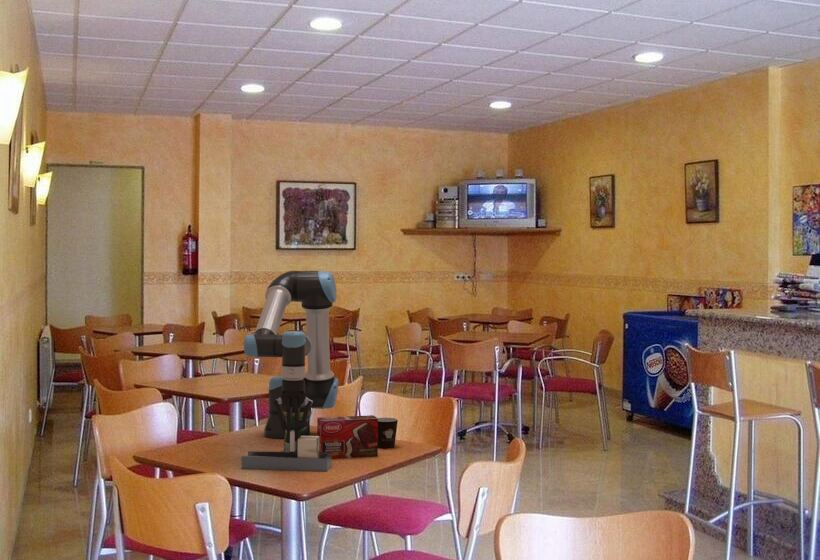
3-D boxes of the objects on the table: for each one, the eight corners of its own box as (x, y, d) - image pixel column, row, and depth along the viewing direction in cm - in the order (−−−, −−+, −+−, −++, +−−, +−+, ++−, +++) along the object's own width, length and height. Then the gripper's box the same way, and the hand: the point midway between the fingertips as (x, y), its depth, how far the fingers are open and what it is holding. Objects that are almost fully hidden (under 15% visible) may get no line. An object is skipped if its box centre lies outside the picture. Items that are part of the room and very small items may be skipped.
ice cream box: (320, 459, 311) (320, 420, 311) (317, 455, 317) (317, 417, 317) (377, 456, 317) (377, 418, 316) (372, 452, 323) (373, 415, 323)
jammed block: (301, 459, 302) (301, 435, 302) (319, 460, 301) (319, 436, 301) (297, 463, 296) (297, 439, 296) (315, 464, 296) (316, 439, 295)
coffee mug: (398, 444, 337) (399, 417, 336) (396, 449, 328) (396, 421, 328) (367, 443, 338) (367, 417, 338) (364, 448, 329) (364, 421, 329)
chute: (248, 462, 305) (248, 450, 305) (331, 465, 303) (331, 453, 302) (241, 468, 296) (241, 456, 296) (327, 471, 294) (327, 458, 294)
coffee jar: (305, 450, 326) (306, 398, 326) (314, 454, 319) (314, 401, 319) (280, 452, 322) (280, 399, 321) (288, 456, 315) (288, 403, 314)
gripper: (271, 379, 295) (270, 452, 296) (310, 380, 294) (310, 453, 295) (276, 376, 303) (276, 447, 303) (315, 377, 302) (314, 448, 302)
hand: (292, 450), depth 299 cm, fingers closed
